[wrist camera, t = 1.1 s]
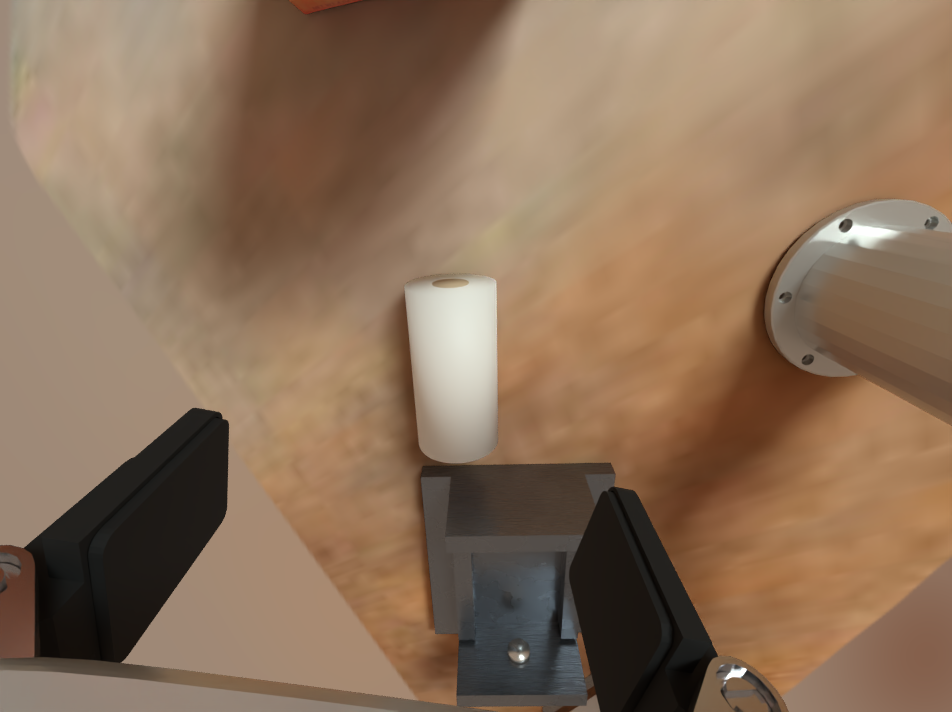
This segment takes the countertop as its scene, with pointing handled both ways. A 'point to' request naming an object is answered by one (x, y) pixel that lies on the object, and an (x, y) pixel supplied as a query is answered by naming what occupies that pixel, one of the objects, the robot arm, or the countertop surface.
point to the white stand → (592, 706)
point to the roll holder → (510, 575)
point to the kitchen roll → (454, 364)
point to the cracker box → (318, 4)
